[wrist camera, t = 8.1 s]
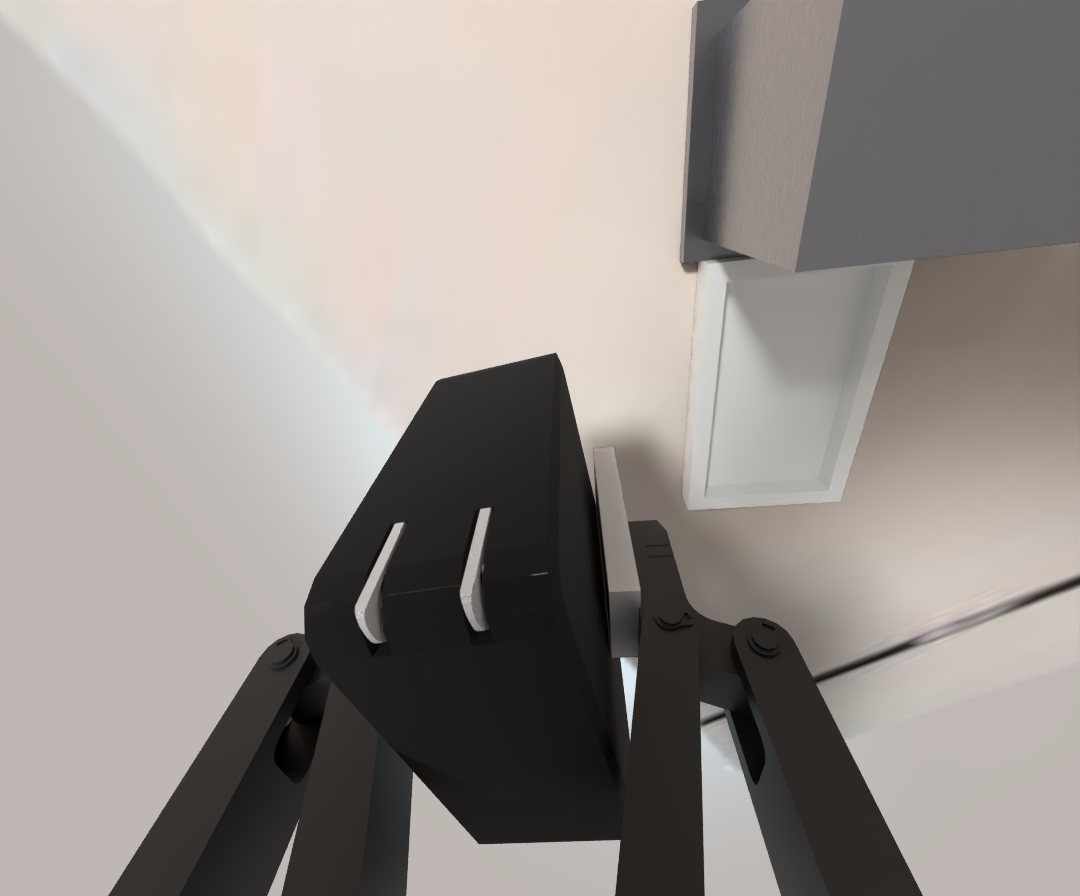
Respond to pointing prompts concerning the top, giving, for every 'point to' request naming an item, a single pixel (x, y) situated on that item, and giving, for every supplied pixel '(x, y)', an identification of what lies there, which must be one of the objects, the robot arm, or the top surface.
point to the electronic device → (484, 612)
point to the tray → (783, 378)
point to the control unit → (880, 130)
